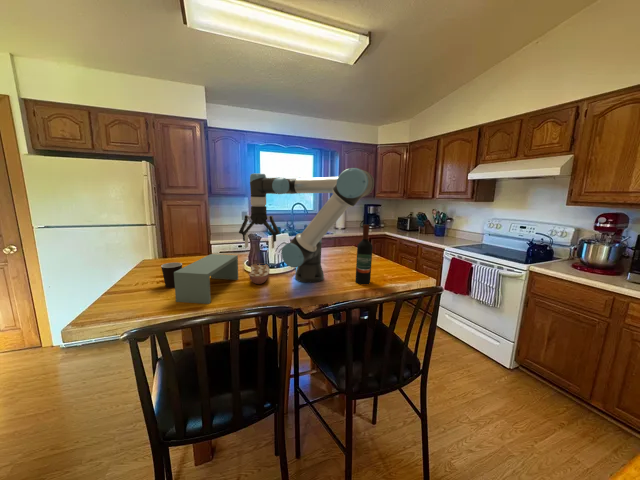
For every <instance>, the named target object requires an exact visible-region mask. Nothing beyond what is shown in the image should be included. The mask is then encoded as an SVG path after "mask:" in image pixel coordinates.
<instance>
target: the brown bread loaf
mask: <svg viewBox="0 0 640 480" xmlns="http://www.w3.org/2000/svg"><path fill="white" fill-rule="evenodd" d="M257 264H259V265H257ZM260 264H261V263H254V264H251V265H250V269H251V271H250V273H249V274H248V276H249V279H250V281H251V282H253V284H255V285H261V284H264V283H265V282H266V281H267V280H268V278H269V276H270V270H271V269H270V267H269V265H268V264H266V263H264V264H265V265H260Z"/></svg>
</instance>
